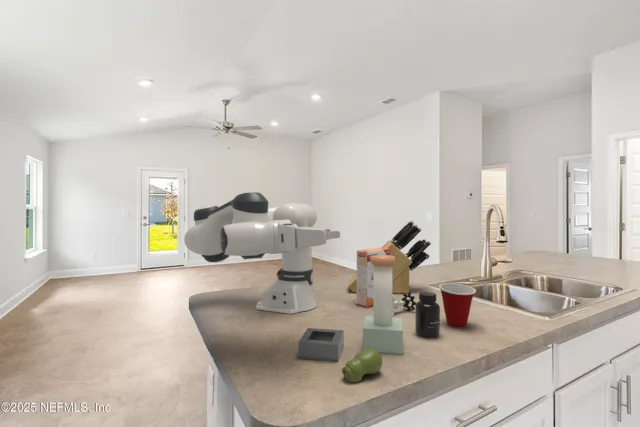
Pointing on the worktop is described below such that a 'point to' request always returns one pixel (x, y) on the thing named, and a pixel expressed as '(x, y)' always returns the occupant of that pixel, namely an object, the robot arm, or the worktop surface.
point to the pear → (362, 365)
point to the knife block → (402, 258)
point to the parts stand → (383, 336)
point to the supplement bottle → (427, 316)
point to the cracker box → (367, 275)
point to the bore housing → (321, 344)
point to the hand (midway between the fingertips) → (334, 233)
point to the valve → (403, 303)
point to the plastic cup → (456, 303)
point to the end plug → (382, 288)
